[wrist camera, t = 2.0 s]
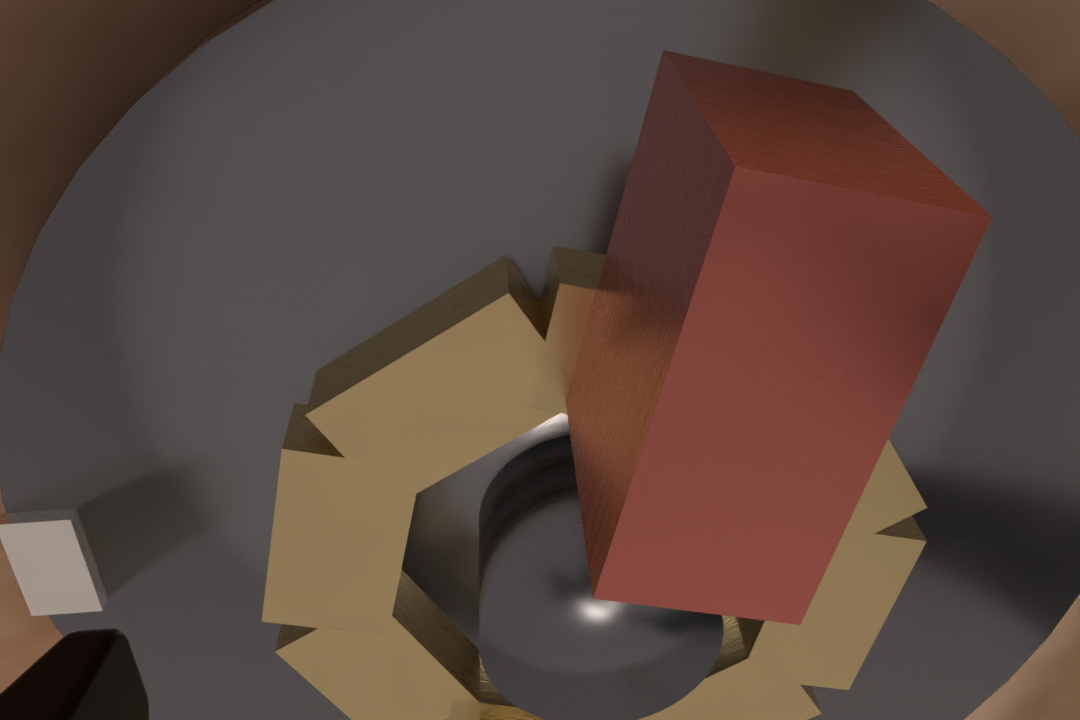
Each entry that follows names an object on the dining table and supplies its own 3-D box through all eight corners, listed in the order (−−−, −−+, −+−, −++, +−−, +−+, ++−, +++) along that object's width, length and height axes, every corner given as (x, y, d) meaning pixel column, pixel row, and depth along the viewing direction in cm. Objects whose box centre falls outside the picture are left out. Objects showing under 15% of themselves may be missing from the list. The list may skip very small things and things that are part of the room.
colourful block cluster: (1081, 590, 19) (1267, 849, 14) (484, 859, 22) (487, 1139, 17) (768, -51, 13) (921, 55, 8) (5, 441, 16) (-174, 709, 11)
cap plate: (1227, 571, 21) (1377, 736, 17) (449, 912, 25) (445, 1096, 22) (848, -434, 12) (997, -505, 9) (-237, 359, 16) (-424, 519, 13)
